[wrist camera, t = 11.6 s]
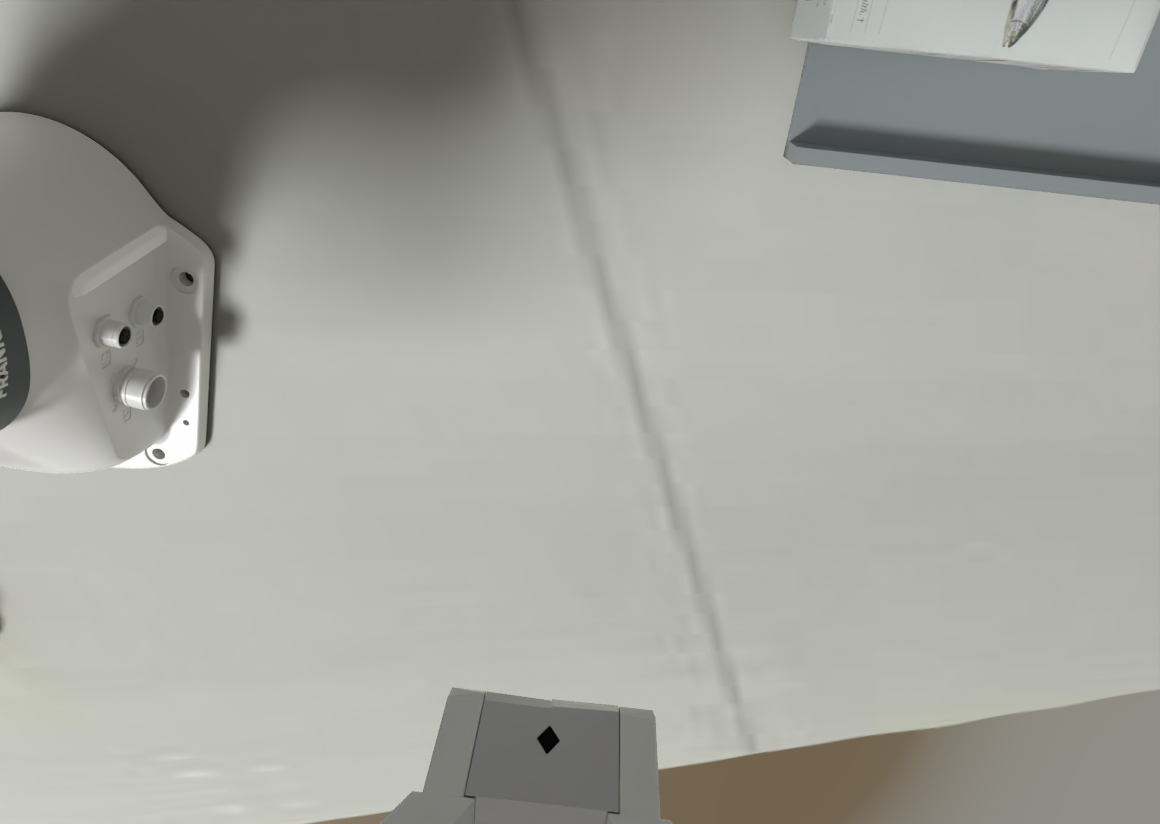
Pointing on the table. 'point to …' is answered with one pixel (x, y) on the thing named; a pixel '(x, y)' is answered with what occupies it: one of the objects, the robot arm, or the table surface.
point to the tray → (982, 121)
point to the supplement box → (988, 30)
